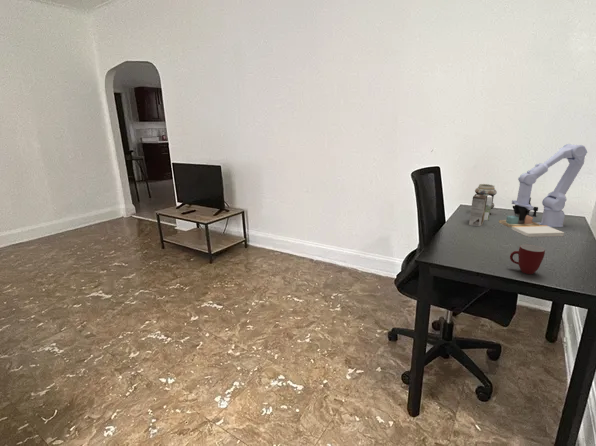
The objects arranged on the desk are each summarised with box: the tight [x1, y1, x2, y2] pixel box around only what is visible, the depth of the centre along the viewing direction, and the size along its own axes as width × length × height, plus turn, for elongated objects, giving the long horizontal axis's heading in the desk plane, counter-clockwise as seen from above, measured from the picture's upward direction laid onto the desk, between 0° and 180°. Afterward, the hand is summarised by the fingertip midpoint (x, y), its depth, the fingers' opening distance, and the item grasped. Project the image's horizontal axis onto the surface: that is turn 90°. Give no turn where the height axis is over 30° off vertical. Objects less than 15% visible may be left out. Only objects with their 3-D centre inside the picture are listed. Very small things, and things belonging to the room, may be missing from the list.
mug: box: [509, 244, 546, 275], centre depth 131 cm, size 10×8×10 cm
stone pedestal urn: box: [474, 183, 497, 216], centre depth 211 cm, size 12×12×18 cm
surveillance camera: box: [527, 196, 539, 218], centre depth 206 cm, size 6×12×10 cm
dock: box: [511, 224, 565, 238], centre depth 177 cm, size 19×12×2 cm, turn 94°
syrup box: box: [484, 195, 494, 221], centre depth 199 cm, size 6×6×14 cm
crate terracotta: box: [524, 215, 534, 224], centre depth 190 cm, size 4×4×4 cm
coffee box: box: [468, 193, 488, 227], centre depth 190 cm, size 9×6×16 cm
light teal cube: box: [505, 215, 519, 224], centre depth 189 cm, size 4×4×4 cm
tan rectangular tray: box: [498, 213, 540, 228], centre depth 189 cm, size 17×9×6 cm, turn 94°
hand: (519, 219), depth 189 cm, fingers closed on tan rectangular tray, 3 cm apart
